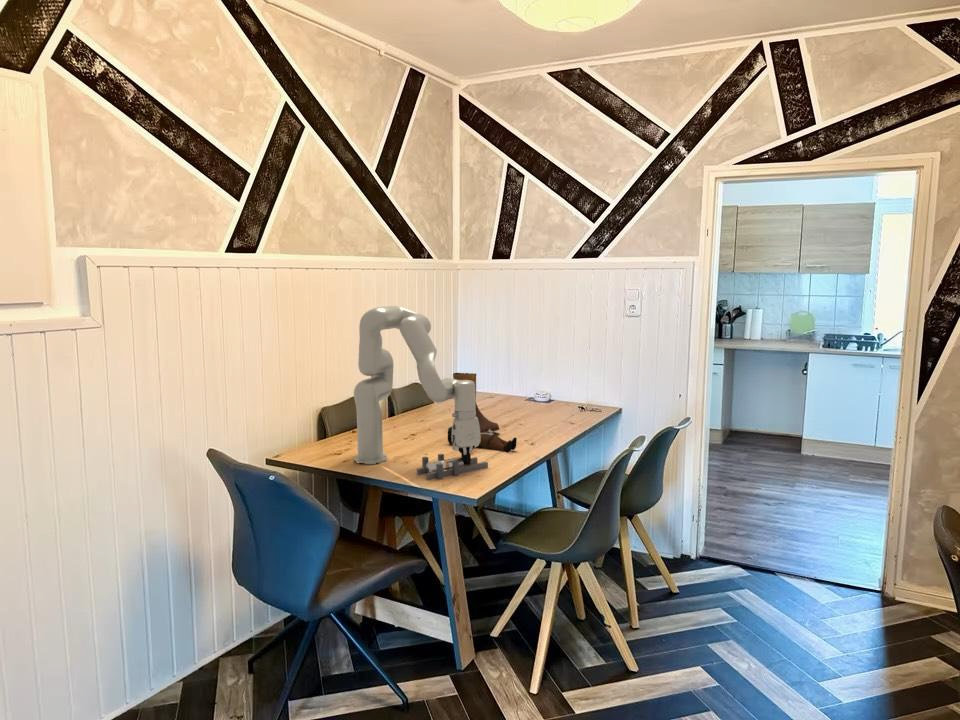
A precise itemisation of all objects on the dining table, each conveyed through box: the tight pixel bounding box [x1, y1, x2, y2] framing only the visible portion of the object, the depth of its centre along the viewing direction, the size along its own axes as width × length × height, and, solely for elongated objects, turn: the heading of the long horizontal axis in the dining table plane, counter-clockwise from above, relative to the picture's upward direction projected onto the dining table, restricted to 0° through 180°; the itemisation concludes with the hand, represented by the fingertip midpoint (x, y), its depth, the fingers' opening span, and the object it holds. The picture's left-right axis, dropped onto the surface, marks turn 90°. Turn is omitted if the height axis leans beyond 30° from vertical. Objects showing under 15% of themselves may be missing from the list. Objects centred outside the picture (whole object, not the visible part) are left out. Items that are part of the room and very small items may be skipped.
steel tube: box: [426, 457, 464, 473], centre depth 226 cm, size 13×4×5 cm, turn 121°
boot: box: [452, 372, 501, 433], centre depth 288 cm, size 25×9×27 cm, turn 43°
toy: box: [447, 426, 518, 453], centre depth 261 cm, size 24×10×30 cm
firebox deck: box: [414, 453, 491, 483], centre depth 227 cm, size 12×25×6 cm, turn 124°
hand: (466, 464), depth 230 cm, fingers closed
